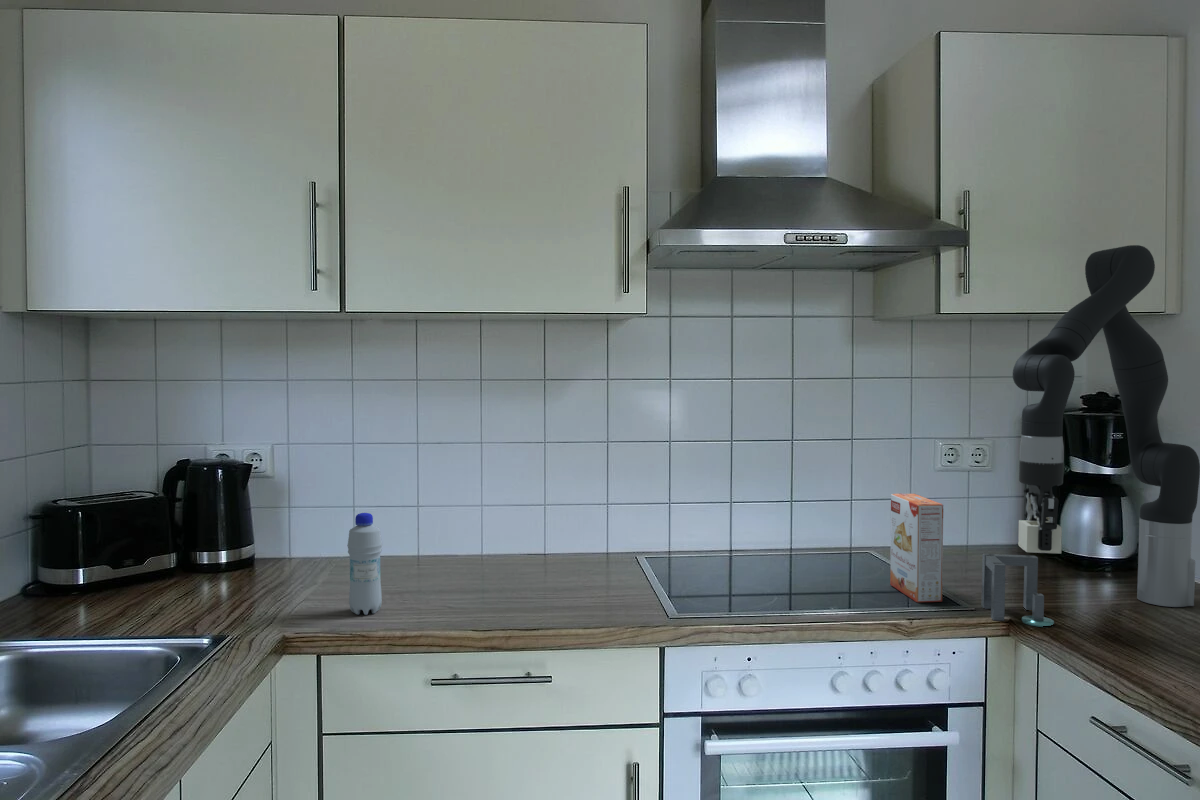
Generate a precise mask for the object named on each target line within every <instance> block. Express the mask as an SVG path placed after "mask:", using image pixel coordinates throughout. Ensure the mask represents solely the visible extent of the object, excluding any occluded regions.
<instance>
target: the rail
mask: <svg viewBox="0 0 1200 800" xmlns="http://www.w3.org/2000/svg"><path fill="white" fill-rule="evenodd" d="M981 562H982V563H981V564H982V565H981V567H982V568H981V604H980V605H981V607H982V609H983V608H985V609H984V610H990V618H991V619H992V621H1000V622H1002V621H1003V622H1005V612H1006V611H1005V609H1006V608H1005V607H1006V604H1005V602H1006V601H1005V600H1006V570H1007V569H1006V566H1013V567H1014V566H1015V567H1024V569H1023V571H1024V572H1023V603H1022V604H1023V605H1022V606H1023V607H1024V608H1025V609H1026V610H1032V603H1033V593H1038V579H1039V578H1038V577H1039V576H1038V574H1039V573H1038V571H1039V557H1038V556H1036V555H1028V554H1027V555H1024V554H1023V555H1021V554H1001V553H1000V554H998V553H982V560H981ZM1024 608H1023V609H1024ZM1025 609H1024V610H1025ZM1026 610H1025V611H1026Z"/></svg>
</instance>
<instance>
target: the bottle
mask: <svg viewBox="0 0 1200 800" xmlns="http://www.w3.org/2000/svg"><path fill="white" fill-rule="evenodd" d="M382 546H383V541H382V536H381V528H379V527H378V526H376V525H374V516H373V514H371V513H368V512H361V513H360V512H359V513H357V514H356V515H355V525H354V527H352V528H350V530H349V532H348V540H347V553H348V555H349V592H348V594H349V595H348V596H349V597H348V604H349V605H348V606H349V609H350V611H351V612H352V613H354V614H356V615H358V616H359V615H361V611H363V614H364V615H365V616H367V615H368V614H369V612H370V611H371V614H376V613H377V612H378V611H379V610H380V609H381V607H382V603H383V601H382V599H383V598H382V584H381V583H382V581H381V553H382V551H383V550H382V549H383V548H382Z"/></svg>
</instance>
